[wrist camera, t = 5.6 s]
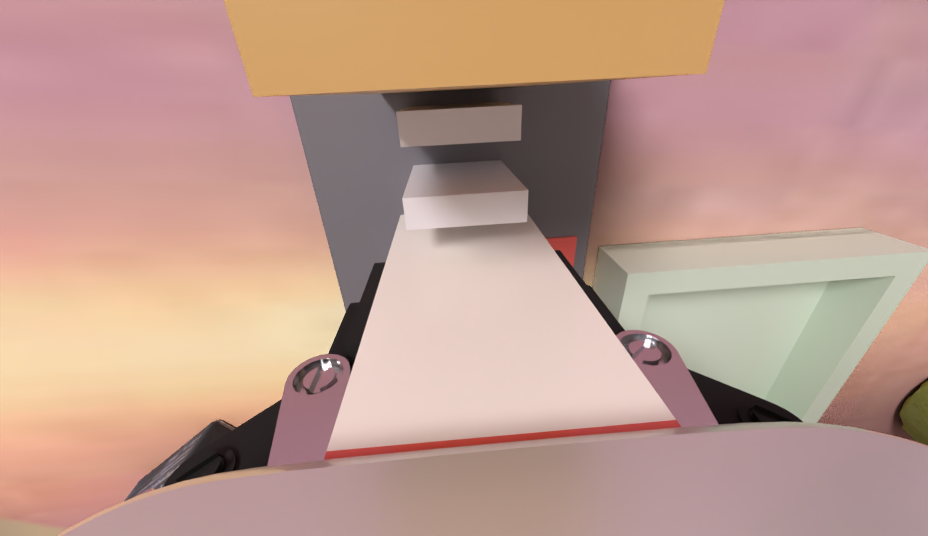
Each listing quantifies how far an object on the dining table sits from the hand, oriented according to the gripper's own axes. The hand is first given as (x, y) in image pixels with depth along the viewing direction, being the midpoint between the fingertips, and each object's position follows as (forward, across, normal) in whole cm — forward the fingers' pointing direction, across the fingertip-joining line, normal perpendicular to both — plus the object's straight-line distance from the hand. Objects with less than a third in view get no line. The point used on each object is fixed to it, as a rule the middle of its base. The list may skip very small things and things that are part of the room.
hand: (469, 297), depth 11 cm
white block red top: (+2, 0, 0) cm, 2 cm away
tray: (+3, -12, +6) cm, 14 cm away
